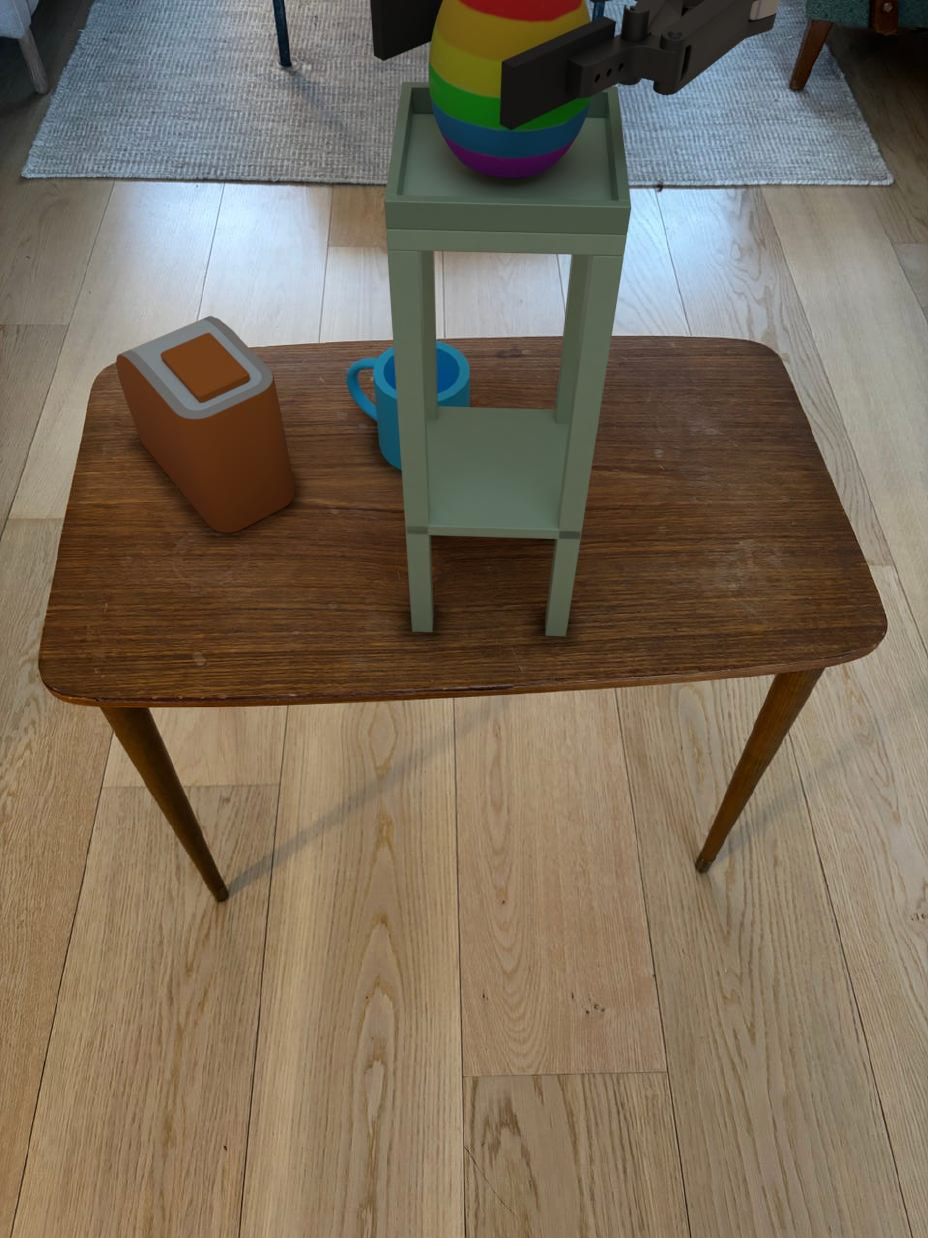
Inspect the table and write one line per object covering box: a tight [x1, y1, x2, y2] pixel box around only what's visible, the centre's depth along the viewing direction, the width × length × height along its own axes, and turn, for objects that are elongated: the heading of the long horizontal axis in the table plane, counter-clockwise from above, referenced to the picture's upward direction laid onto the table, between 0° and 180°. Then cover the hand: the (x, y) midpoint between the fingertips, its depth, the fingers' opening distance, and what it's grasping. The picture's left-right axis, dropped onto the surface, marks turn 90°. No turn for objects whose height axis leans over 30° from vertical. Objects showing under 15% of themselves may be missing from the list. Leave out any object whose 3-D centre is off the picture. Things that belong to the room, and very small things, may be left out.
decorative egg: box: [428, 0, 592, 178], centre depth 48 cm, size 8×8×10 cm
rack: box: [383, 81, 632, 637], centre depth 66 cm, size 12×12×36 cm
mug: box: [345, 340, 471, 471], centre depth 87 cm, size 12×8×8 cm
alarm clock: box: [115, 315, 296, 534], centre depth 82 cm, size 15×8×14 cm, turn 37°
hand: (439, 60), depth 45 cm, fingers closed on decorative egg, 8 cm apart
